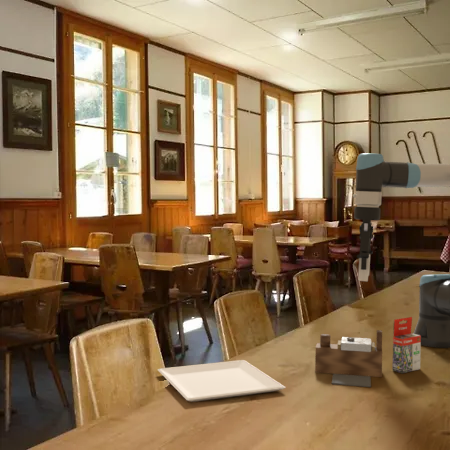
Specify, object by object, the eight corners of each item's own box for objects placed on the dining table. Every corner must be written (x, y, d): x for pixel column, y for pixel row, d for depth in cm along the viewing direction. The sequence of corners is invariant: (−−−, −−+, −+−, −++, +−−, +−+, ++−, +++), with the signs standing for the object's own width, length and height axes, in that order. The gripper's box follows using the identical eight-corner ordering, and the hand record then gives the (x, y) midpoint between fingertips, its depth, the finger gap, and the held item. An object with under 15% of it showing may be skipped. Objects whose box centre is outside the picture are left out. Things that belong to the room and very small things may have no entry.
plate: (187, 407, 144) (187, 399, 144) (157, 375, 168) (157, 368, 168) (286, 394, 154) (286, 386, 154) (244, 366, 178) (244, 359, 178)
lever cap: (370, 345, 174) (370, 336, 174) (371, 351, 167) (371, 342, 167) (341, 343, 175) (342, 334, 175) (341, 350, 169) (341, 340, 168)
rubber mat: (370, 377, 167) (370, 376, 167) (370, 387, 159) (370, 385, 159) (333, 375, 169) (333, 373, 169) (331, 384, 161) (331, 382, 161)
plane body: (381, 371, 173) (382, 329, 172) (381, 377, 168) (382, 333, 167) (316, 367, 176) (317, 325, 176) (315, 372, 172) (315, 329, 171)
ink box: (420, 369, 175) (422, 318, 174) (401, 374, 171) (403, 321, 170) (410, 366, 178) (411, 316, 177) (391, 370, 174) (392, 319, 173)
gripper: (356, 205, 194) (353, 272, 195) (352, 206, 170) (348, 282, 171) (381, 206, 192) (377, 273, 193) (380, 207, 168) (376, 284, 169)
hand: (363, 278), depth 182 cm, fingers open, 13 cm apart
